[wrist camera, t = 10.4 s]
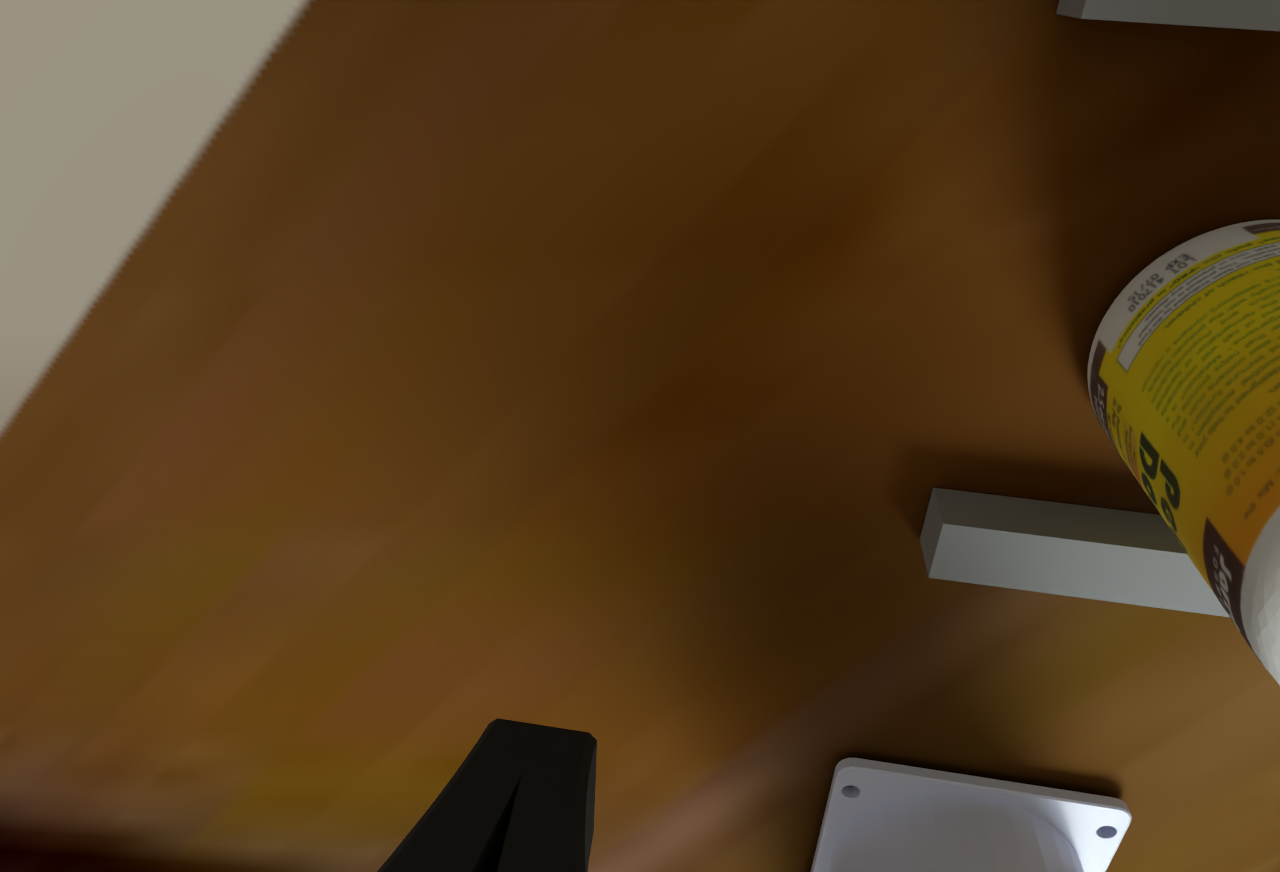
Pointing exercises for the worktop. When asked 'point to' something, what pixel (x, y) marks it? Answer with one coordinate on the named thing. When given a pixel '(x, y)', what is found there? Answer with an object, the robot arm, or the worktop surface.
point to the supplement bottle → (1205, 411)
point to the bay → (1066, 533)
